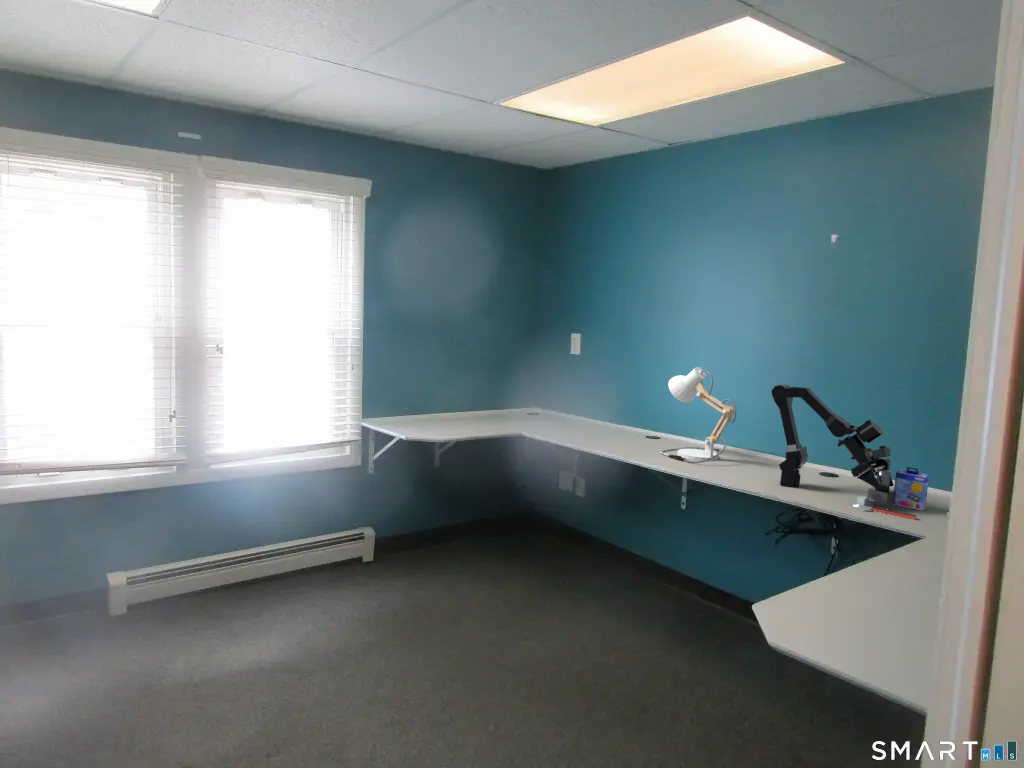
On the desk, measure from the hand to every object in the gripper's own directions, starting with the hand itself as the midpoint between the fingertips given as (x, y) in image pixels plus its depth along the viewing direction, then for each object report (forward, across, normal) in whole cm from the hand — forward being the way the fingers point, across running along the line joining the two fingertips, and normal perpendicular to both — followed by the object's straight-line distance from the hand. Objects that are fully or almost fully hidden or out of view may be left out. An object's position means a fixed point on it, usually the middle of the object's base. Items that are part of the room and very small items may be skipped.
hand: (886, 487), depth 241 cm
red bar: (+7, -8, +3) cm, 11 cm away
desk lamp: (-54, +5, +65) cm, 85 cm away
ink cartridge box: (+8, +10, +2) cm, 13 cm away
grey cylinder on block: (+4, 0, +6) cm, 7 cm away
